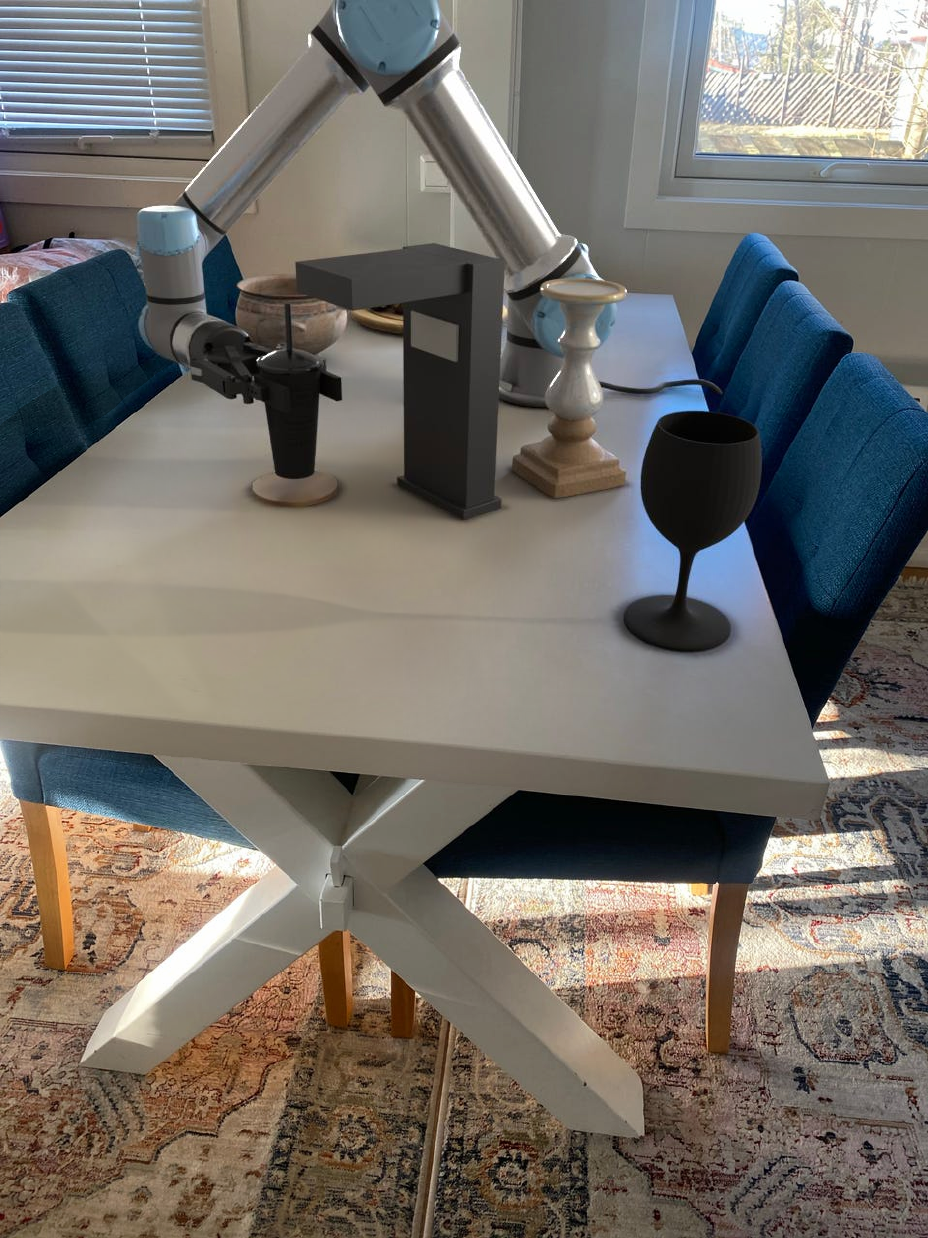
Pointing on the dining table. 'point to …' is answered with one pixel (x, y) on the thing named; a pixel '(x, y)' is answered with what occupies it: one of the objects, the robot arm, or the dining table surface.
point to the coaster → (295, 489)
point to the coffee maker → (434, 360)
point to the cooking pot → (266, 314)
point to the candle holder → (574, 399)
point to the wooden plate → (389, 317)
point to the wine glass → (694, 516)
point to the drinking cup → (293, 407)
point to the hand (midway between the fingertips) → (313, 394)
